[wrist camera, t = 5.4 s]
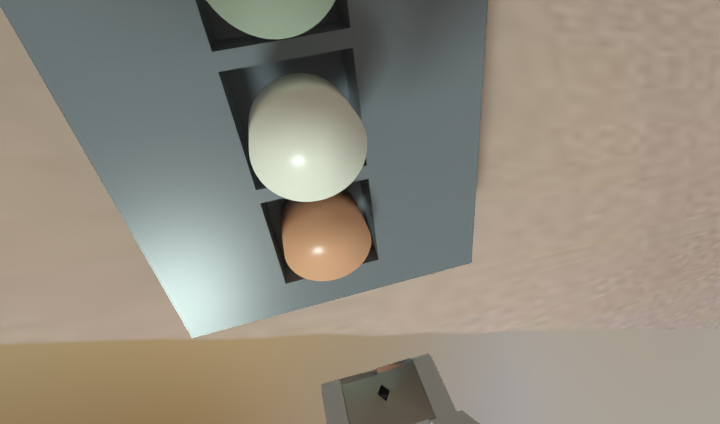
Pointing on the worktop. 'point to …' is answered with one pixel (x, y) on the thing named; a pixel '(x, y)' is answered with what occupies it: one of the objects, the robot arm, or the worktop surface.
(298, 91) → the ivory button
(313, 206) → the terracotta button
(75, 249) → the worktop surface
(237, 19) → the sage button
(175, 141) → the panel
